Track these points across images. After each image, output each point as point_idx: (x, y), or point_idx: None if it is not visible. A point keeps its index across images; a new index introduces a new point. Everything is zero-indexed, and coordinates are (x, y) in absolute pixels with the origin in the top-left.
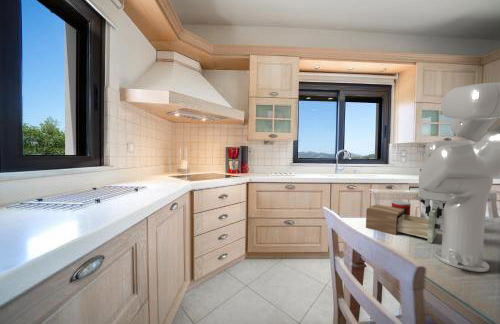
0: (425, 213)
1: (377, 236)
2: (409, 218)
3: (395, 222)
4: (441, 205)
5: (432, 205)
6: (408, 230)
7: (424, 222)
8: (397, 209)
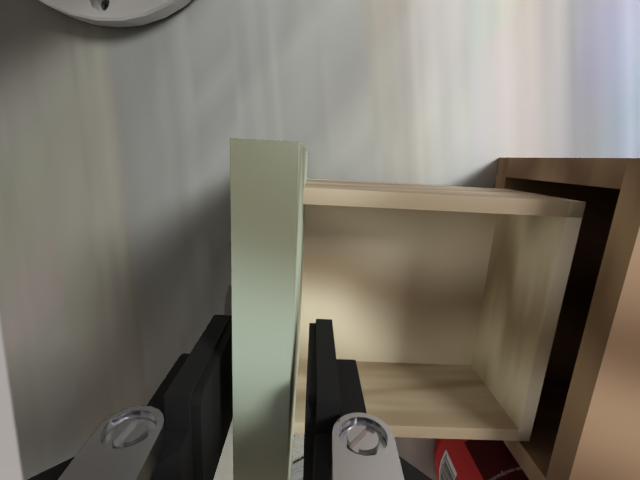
0: (353, 361)
1: (619, 3)
2: (463, 407)
3: (577, 159)
4: (92, 465)
5: None
6: (439, 187)
7: None
8: (630, 441)
